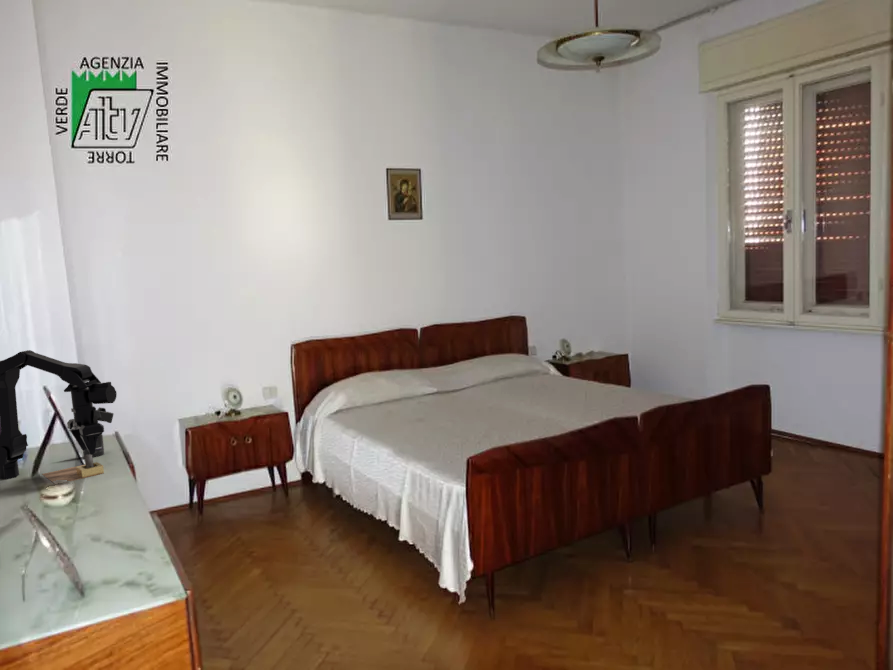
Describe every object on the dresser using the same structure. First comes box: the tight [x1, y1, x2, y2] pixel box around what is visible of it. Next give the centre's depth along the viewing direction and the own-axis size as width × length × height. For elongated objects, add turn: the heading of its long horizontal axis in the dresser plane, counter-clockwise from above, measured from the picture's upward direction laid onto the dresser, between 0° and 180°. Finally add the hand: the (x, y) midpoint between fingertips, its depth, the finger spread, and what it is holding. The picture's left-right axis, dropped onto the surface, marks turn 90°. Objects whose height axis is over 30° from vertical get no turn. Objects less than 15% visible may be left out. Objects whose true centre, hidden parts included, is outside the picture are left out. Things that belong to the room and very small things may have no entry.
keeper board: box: [41, 454, 105, 483], centre depth 227 cm, size 18×14×8 cm
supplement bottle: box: [82, 433, 105, 459], centre depth 249 cm, size 7×7×12 cm
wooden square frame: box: [75, 461, 105, 479], centre depth 226 cm, size 6×6×2 cm
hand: (88, 452), depth 225 cm, fingers open, 9 cm apart
